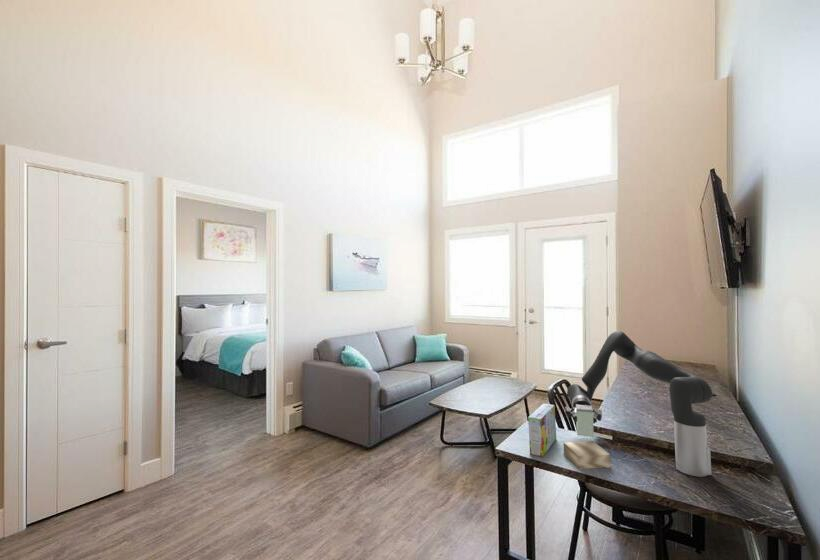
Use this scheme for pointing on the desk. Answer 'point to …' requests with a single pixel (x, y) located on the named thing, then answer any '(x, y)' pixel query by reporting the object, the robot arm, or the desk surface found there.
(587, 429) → the tea tin
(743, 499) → the desk surface
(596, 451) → the birch block
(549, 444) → the snack box
